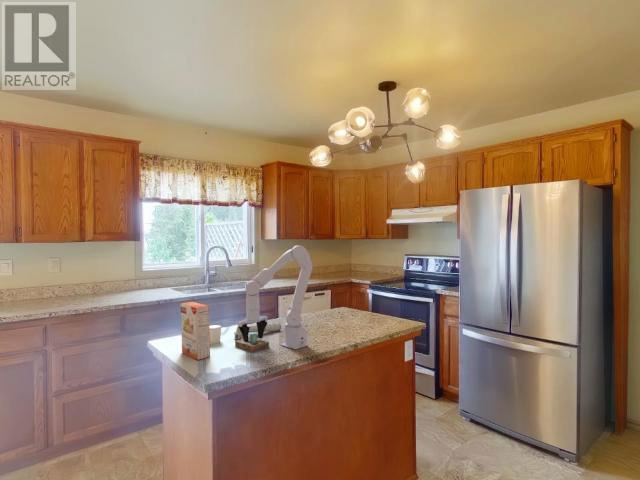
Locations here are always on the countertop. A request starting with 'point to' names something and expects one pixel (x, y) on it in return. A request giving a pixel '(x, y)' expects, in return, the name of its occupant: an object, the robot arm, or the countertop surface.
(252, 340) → the peg
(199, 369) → the countertop surface
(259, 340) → the socket board
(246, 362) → the countertop surface
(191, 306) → the cracker box
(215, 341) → the white cup
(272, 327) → the cream knobbed rod
